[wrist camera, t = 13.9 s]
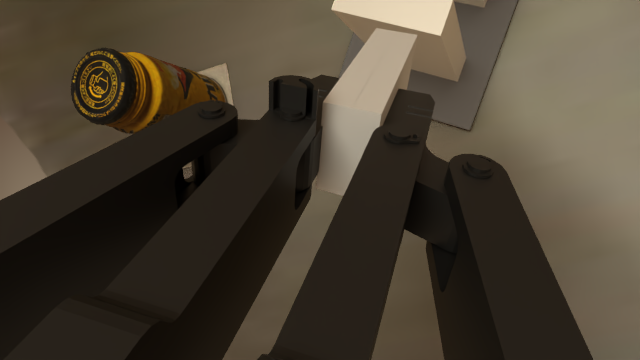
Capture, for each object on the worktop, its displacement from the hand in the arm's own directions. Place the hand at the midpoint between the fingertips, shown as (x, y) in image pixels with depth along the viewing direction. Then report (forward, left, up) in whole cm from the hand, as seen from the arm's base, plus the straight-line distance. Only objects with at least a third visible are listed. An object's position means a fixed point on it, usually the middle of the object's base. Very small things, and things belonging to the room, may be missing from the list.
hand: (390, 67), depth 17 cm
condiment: (-21, -6, -19) cm, 29 cm away
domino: (-3, +4, -18) cm, 19 cm away
